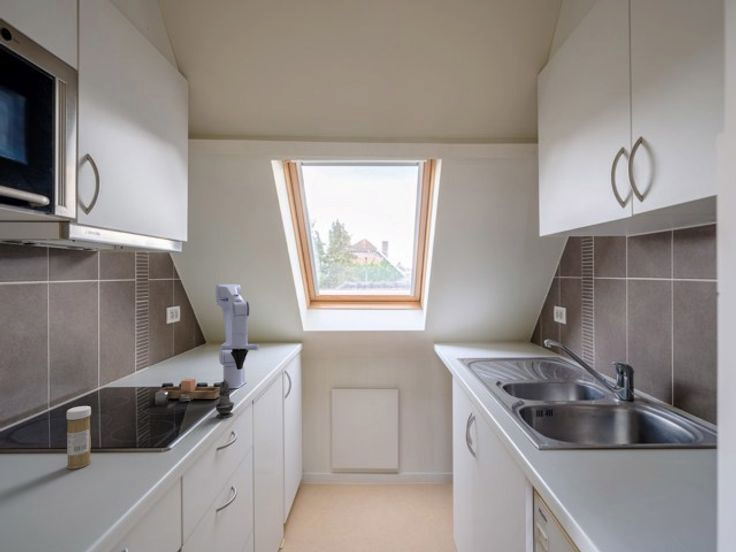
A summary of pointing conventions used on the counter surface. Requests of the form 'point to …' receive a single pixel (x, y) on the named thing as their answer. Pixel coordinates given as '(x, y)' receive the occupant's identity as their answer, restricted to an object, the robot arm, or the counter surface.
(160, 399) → the weight
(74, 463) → the sprinkles bottle
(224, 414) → the dark grey turned ornament
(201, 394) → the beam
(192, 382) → the orange block
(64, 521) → the counter surface
